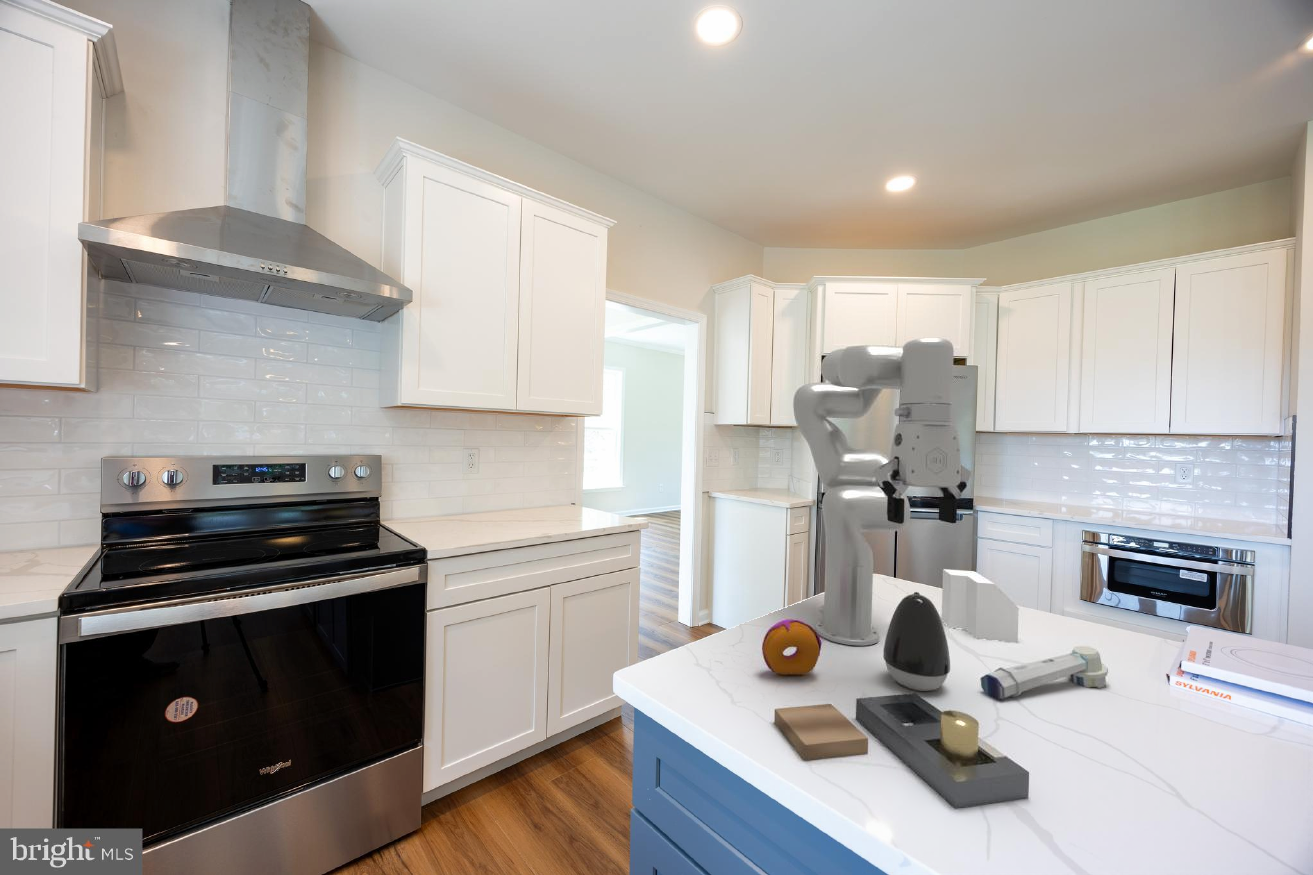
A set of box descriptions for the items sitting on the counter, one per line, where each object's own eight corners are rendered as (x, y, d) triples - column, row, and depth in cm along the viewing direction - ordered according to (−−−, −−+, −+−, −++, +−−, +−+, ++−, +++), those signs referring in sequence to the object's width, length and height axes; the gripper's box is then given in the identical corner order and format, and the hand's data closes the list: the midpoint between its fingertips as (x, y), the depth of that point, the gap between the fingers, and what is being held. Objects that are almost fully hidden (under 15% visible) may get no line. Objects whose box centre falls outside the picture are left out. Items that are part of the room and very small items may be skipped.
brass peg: (932, 767, 66) (933, 711, 66) (959, 763, 67) (960, 709, 67) (956, 787, 62) (958, 729, 62) (985, 783, 63) (986, 726, 63)
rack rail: (855, 718, 77) (856, 697, 77) (914, 712, 79) (915, 691, 79) (955, 808, 59) (956, 780, 59) (1028, 797, 61) (1029, 770, 61)
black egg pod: (946, 677, 92) (949, 591, 92) (952, 704, 82) (955, 608, 82) (883, 665, 96) (885, 582, 96) (881, 689, 87) (884, 598, 87)
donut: (771, 661, 96) (772, 607, 96) (823, 673, 92) (824, 617, 92) (758, 678, 90) (759, 620, 90) (813, 692, 85) (815, 631, 85)
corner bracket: (941, 620, 122) (943, 569, 122) (995, 625, 120) (996, 573, 120) (958, 637, 112) (959, 581, 112) (1017, 643, 109) (1019, 585, 109)
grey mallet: (975, 667, 88) (1081, 634, 95) (978, 706, 88) (1084, 670, 95) (1004, 681, 83) (1114, 645, 90) (1008, 722, 83) (1116, 683, 90)
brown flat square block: (774, 722, 76) (774, 708, 76) (830, 717, 78) (831, 703, 78) (805, 760, 67) (805, 744, 67) (867, 753, 69) (868, 738, 69)
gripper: (893, 413, 79) (889, 526, 79) (989, 417, 83) (985, 525, 83) (863, 415, 86) (860, 518, 87) (952, 419, 90) (949, 518, 90)
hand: (921, 522), depth 85 cm, fingers open, 9 cm apart
